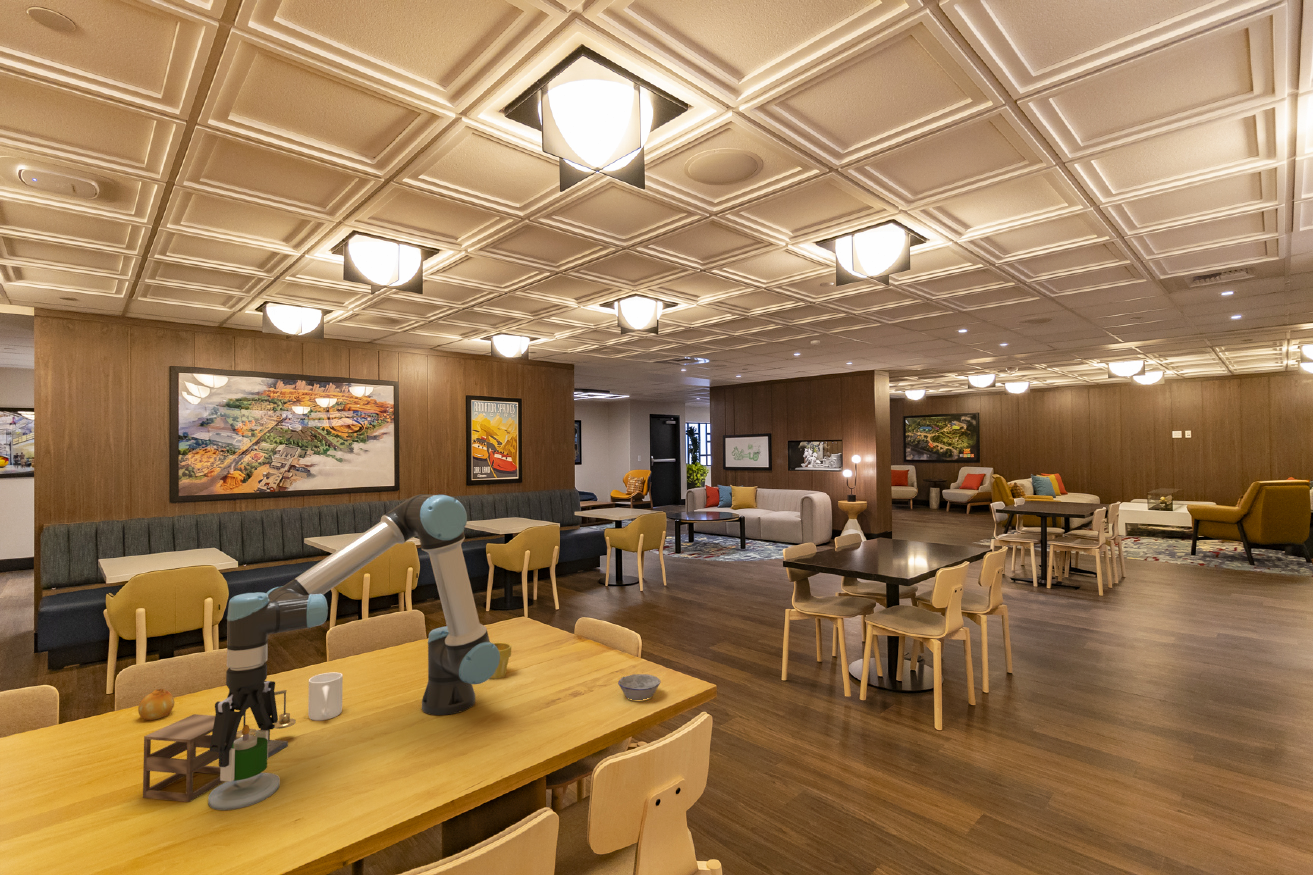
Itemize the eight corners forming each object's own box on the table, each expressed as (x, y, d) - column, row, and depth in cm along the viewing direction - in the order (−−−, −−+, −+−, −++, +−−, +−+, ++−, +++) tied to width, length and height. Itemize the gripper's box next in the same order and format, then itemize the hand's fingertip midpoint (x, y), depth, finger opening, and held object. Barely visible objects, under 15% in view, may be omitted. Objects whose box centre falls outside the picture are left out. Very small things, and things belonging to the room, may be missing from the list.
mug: (307, 728, 167) (307, 688, 167) (308, 712, 177) (309, 675, 178) (342, 721, 171) (342, 682, 171) (341, 706, 182) (342, 670, 182)
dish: (293, 780, 139) (293, 774, 139) (246, 812, 126) (246, 806, 126) (243, 775, 141) (244, 770, 142) (192, 807, 129) (192, 800, 129)
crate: (235, 774, 142) (236, 717, 143) (189, 801, 131) (190, 739, 131) (192, 770, 144) (193, 714, 145) (142, 797, 133) (144, 736, 133)
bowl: (614, 703, 182) (614, 687, 182) (623, 687, 195) (623, 672, 195) (657, 705, 180) (656, 689, 180) (663, 689, 192) (663, 674, 193)
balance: (303, 736, 162) (303, 676, 162) (247, 769, 144) (248, 702, 145) (280, 734, 163) (280, 675, 164) (222, 767, 145) (223, 701, 146)
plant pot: (517, 673, 208) (517, 644, 209) (494, 683, 200) (494, 652, 200) (496, 668, 214) (496, 640, 214) (473, 677, 205) (473, 648, 206)
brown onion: (178, 709, 175) (173, 682, 178) (141, 720, 169) (137, 692, 172) (175, 717, 180) (170, 690, 182) (139, 728, 174) (135, 701, 177)
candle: (232, 784, 128) (233, 736, 129) (214, 774, 133) (215, 727, 133) (274, 767, 135) (275, 721, 136) (256, 758, 140) (257, 714, 140)
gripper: (270, 649, 146) (268, 746, 145) (188, 680, 125) (185, 793, 124) (297, 651, 145) (296, 748, 144) (220, 682, 124) (217, 796, 123)
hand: (244, 769), depth 134 cm, fingers closed on candle, 8 cm apart
